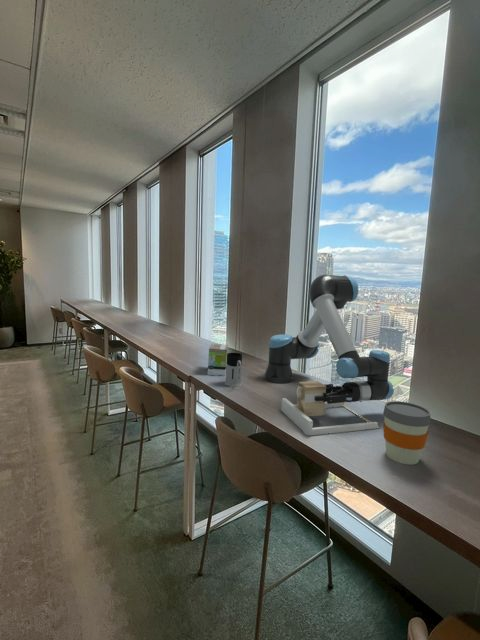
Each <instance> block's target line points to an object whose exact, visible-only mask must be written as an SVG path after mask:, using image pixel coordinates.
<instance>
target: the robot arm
mask: <svg viewBox="0 0 480 640" xmlns="http://www.w3.org/2000/svg"><path fill="white" fill-rule="evenodd" d="M308 291H309V293H308V294H309V296H308V297H309V300H310V303H311V305H312V307H313V308H314V309H315V311H314V312H313V314H312V316H311V318H310V319H309V321H308V322H307V324H306V326H305V328H304V329H303V330H300V331H299V332H298V333H297V335H296V336H295V337H294V336H292V335H291V334H286V333H285V334H275V335H273V336H271V337H270V338H269V344H268V363H267V367H266V369H265V372H264V377H263V378H264V380H266V382H267V381H268V382H271V383H275V384H288V383H291V382H293V381H294V374H293V371H292V367H291V365H292V364H291V363H292V361H291V360H302V359H305V360H307V359H311V358H314V357H316V356H317V354H318V352H319V351H320V350H319V348H320V344H319V338H320V336H321V335H323V332H324V331H326V333H327V335H328V338H329V340H330V343H331V345H332V347H333V349H334V352H335V354H336V356H337V358H338V360H337V361H336V363H335V367H336V373H337V375H338V376H339V377H341V378H342V379H355V378H356V379H357V378H364V377H366V378H367V379H366V380H361V381H360V380H359V381H346V382H344V383H343V384H342V385H336V386H335V385H334V384H333V383H329V384H327V383H325V384H323V385H325V386H326V393H323V394H322V393H319V394H305V402H318V401H323V402H327V403H328V404H332V403H342V402H344V403H355V402H356V403H357V402H359V403H362V402H368V401H369V402H370V401H383V400H384V401H385V400H389V399H391V398H392V397H393V396H394V394H395V389H394V385H393V383H392V382H391V381H390V380H389V373H390V371H389V370H390V364H391V362H390V361H391V354H390V353H389V352H387V351H386V350H385V351H384V350H379V349H372V350H370V351H369V354H368V356H360V355H359V352H358V351H357V349H356V346H355V344H354V343H353V342H354V341H352V337H351V336H350V334H349V332H348V330H347V329H348V328H347V327H346V325H345V324H344V321H343V319H342V317H341V315H340V313H339V310H342V309H344V308H345V306H346V304H347V303H348V302H349V303H351V302H352V303H353V302H354V301H355V300H356V299H357V298H358V295H359V284H358V281H357V280H356V279H355V278H354V277H352V276H349V275H346V274H345V275H333V274H322V275H318V276H317V277H316V278H314V280H313V281H311V284H310V286H309V290H308ZM296 396H297V397H298V387H297V388H296Z"/></svg>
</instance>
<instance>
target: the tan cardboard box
mask: <svg viewBox="0 0 480 640" xmlns="http://www.w3.org/2000/svg"><path fill="white" fill-rule="evenodd" d="M297 386H298V387H297V388H298V396H297V398H296V399H297V401H296V404H297V408H298V409H299V410H300V411H302V412H303V413H304V414H305V415H306V416H308V417H318V416H324V415H325V408H324V407H325V402H323V401H318V402H305V394H319V393H322V394H323V393H326V386H325V385H324V384H323V383H322V382H320V381H318V380H314V381H313V380H312V381H299V382H298V385H297Z"/></svg>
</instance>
